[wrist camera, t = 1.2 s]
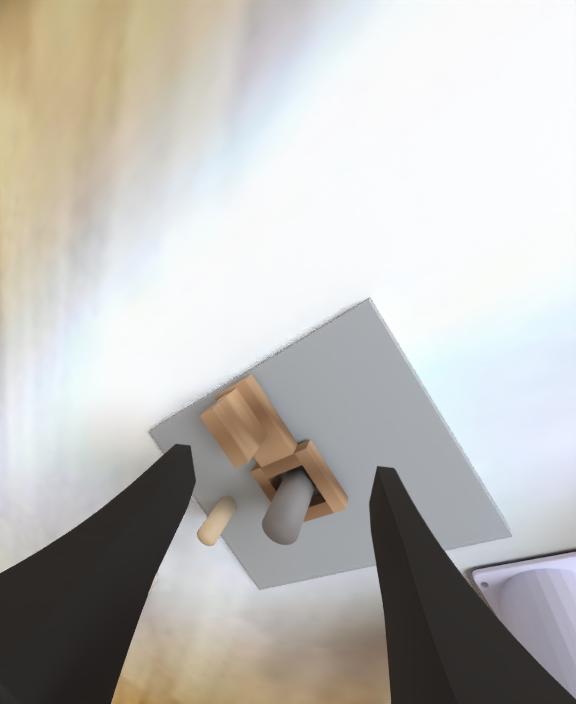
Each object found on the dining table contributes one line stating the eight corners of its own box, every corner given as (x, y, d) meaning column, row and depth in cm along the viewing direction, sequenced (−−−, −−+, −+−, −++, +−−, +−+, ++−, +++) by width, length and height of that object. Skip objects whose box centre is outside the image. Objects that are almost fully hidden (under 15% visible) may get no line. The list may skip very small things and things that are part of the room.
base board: (506, 522, 22) (546, 620, 16) (263, 578, 31) (233, 653, 25) (370, 297, 20) (359, 315, 15) (157, 425, 29) (99, 467, 24)
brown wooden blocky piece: (348, 497, 23) (338, 548, 19) (292, 515, 25) (272, 564, 21) (263, 366, 22) (234, 391, 18) (212, 397, 25) (176, 425, 21)
